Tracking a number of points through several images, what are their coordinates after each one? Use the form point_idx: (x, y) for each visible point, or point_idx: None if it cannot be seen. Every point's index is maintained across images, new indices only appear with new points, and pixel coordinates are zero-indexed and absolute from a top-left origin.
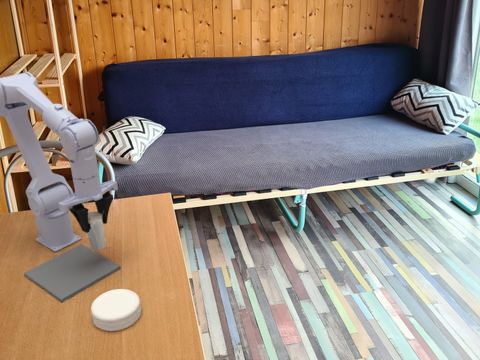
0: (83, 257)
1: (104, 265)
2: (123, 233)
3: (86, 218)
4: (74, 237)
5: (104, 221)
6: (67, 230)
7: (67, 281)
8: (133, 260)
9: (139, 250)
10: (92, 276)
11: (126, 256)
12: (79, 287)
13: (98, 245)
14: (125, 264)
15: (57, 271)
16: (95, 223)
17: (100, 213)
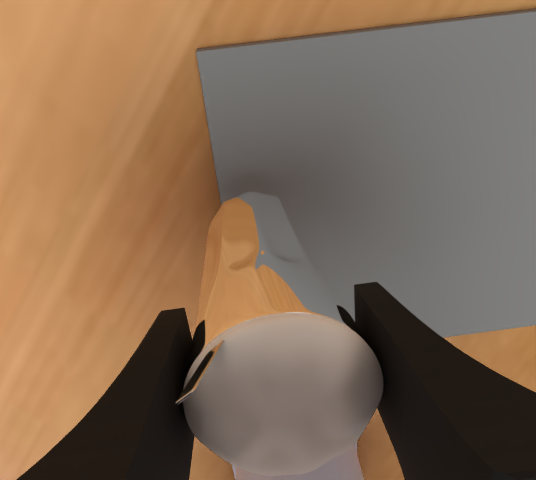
0: None
1: (263, 127)
2: (32, 332)
3: (439, 374)
4: None
5: (182, 325)
6: None
7: (478, 135)
8: (93, 71)
9: (17, 140)
10: (370, 78)
11: (110, 139)
12: (480, 33)
13: (276, 208)
14: (153, 69)
15: (450, 245)
16: (309, 308)
17: (195, 410)
